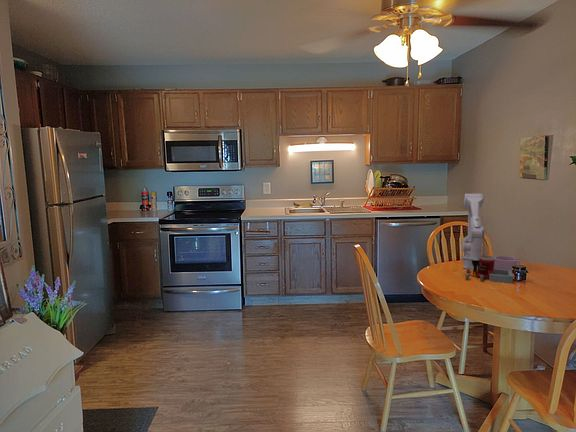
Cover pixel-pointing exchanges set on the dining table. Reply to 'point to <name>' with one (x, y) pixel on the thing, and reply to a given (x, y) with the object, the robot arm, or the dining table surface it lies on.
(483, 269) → the canned food
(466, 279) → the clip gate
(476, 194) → the robot arm
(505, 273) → the end cradle
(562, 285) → the dining table surface
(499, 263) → the clip
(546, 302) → the dining table surface
